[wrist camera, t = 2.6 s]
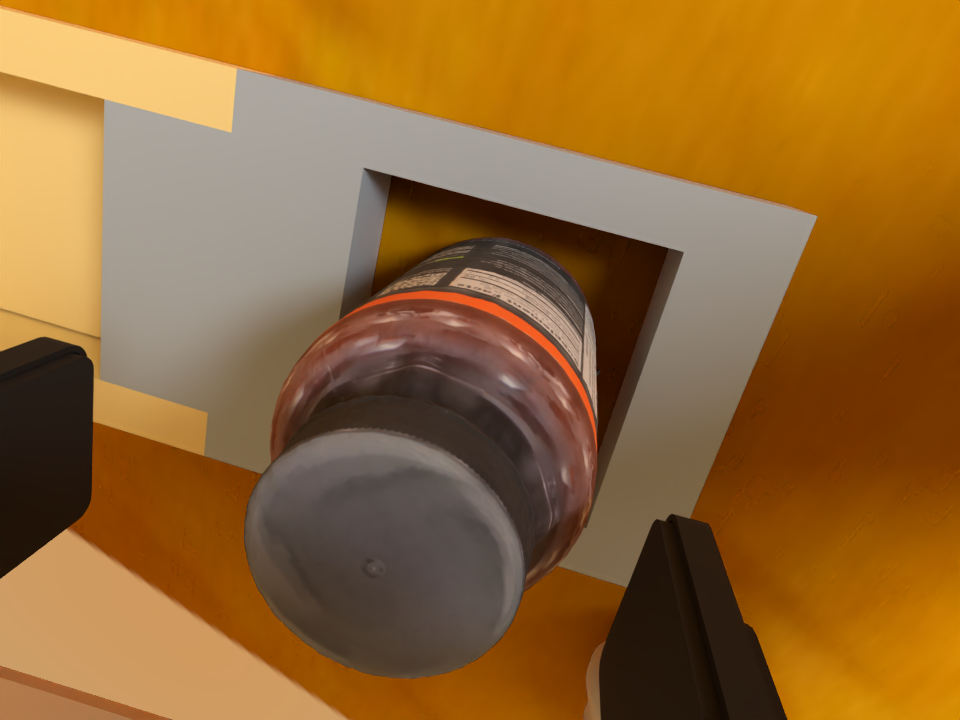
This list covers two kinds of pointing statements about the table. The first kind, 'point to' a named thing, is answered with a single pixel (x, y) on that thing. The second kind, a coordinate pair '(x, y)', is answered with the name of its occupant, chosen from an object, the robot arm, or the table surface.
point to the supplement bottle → (430, 461)
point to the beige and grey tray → (334, 253)
